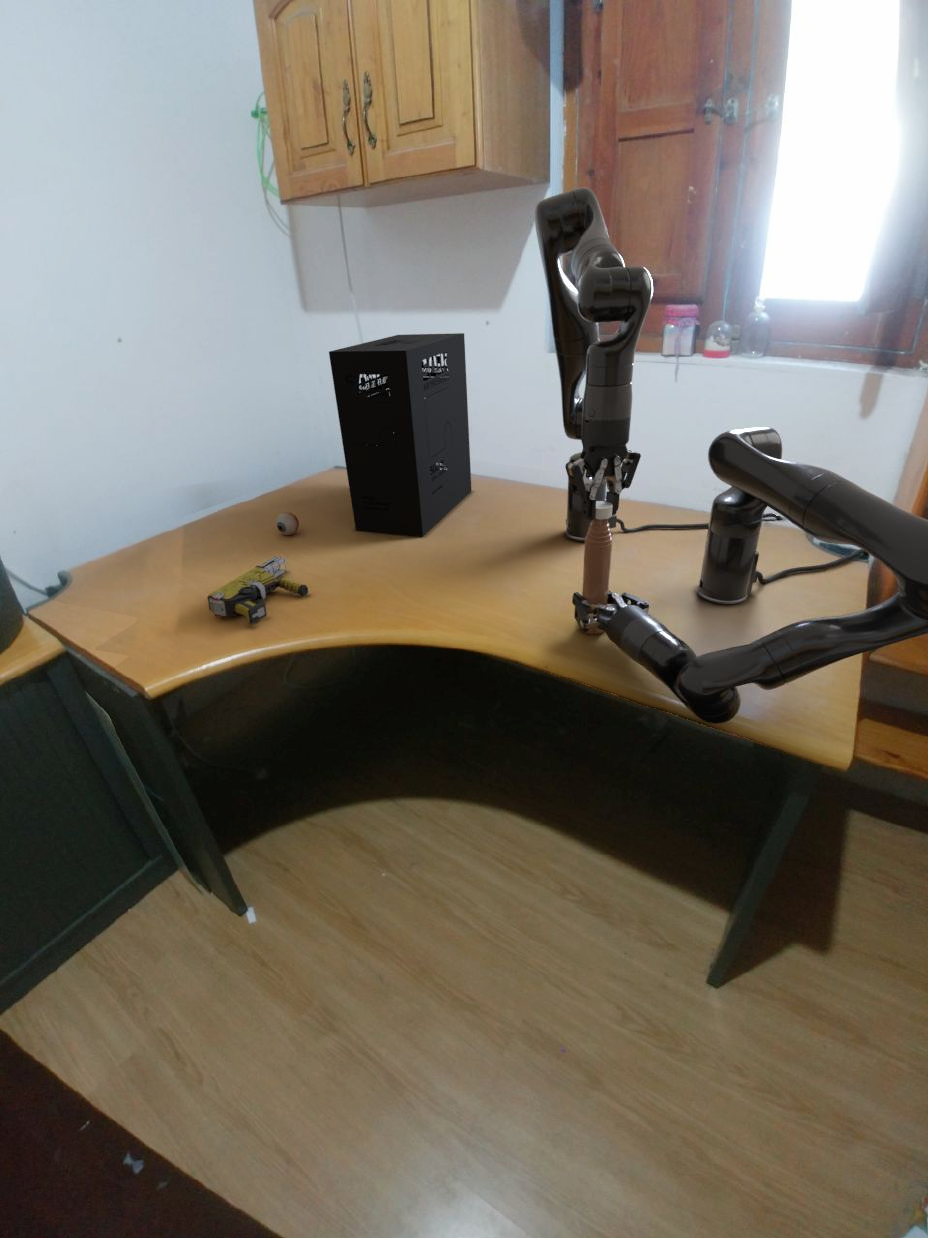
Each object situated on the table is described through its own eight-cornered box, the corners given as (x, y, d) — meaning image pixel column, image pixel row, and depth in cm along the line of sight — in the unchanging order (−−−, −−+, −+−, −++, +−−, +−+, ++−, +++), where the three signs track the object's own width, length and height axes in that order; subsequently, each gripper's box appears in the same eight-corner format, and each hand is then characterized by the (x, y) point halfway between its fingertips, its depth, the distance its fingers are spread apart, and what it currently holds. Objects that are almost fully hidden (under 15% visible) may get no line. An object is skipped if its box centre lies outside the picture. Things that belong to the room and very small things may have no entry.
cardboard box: (412, 487, 195) (398, 334, 173) (471, 491, 189) (464, 333, 166) (355, 529, 165) (328, 351, 143) (423, 536, 159) (406, 350, 136)
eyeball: (273, 537, 164) (268, 516, 161) (287, 528, 169) (282, 508, 166) (291, 539, 161) (286, 518, 158) (305, 530, 166) (301, 510, 163)
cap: (589, 519, 102) (589, 508, 101) (587, 511, 106) (588, 501, 105) (613, 519, 102) (613, 508, 101) (610, 511, 105) (611, 500, 104)
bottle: (610, 625, 115) (619, 506, 103) (598, 636, 112) (606, 515, 100) (588, 618, 118) (595, 502, 106) (575, 629, 115) (581, 510, 103)
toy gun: (328, 564, 138) (272, 553, 142) (265, 610, 118) (201, 595, 122) (329, 583, 141) (274, 571, 145) (267, 631, 121) (205, 616, 125)
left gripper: (627, 403, 101) (619, 502, 109) (555, 415, 96) (553, 517, 104) (658, 410, 95) (647, 514, 103) (583, 423, 90) (578, 531, 98)
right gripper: (601, 665, 100) (553, 619, 114) (673, 645, 104) (618, 602, 118) (604, 626, 96) (554, 583, 110) (679, 607, 100) (621, 568, 114)
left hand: (600, 515), depth 104 cm, fingers closed on cap, 4 cm apart
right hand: (587, 593), depth 114 cm, fingers closed on bottle, 4 cm apart
